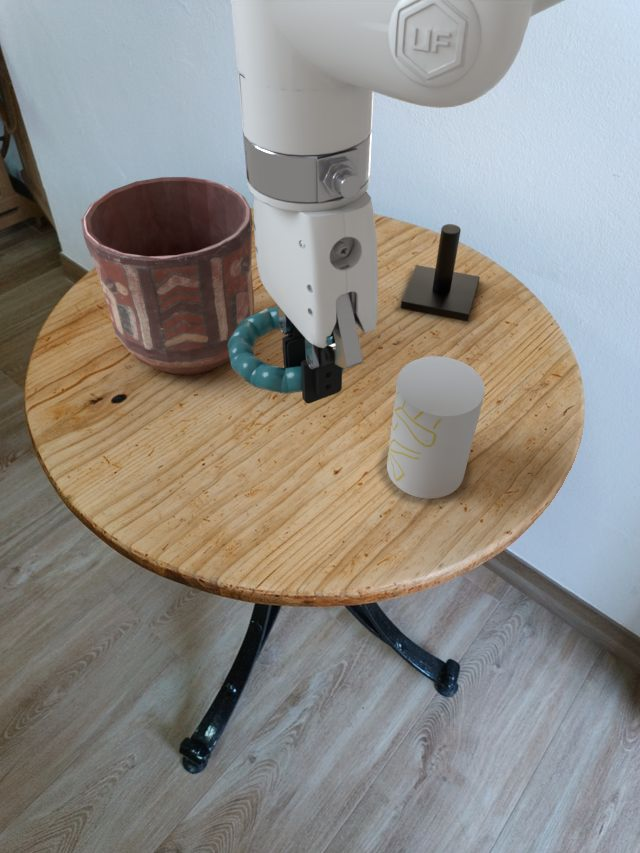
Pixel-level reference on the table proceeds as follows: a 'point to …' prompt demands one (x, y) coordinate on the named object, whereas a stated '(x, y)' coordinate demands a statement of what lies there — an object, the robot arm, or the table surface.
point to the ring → (253, 366)
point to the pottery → (174, 268)
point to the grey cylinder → (433, 425)
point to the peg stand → (442, 283)
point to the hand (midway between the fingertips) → (312, 382)
